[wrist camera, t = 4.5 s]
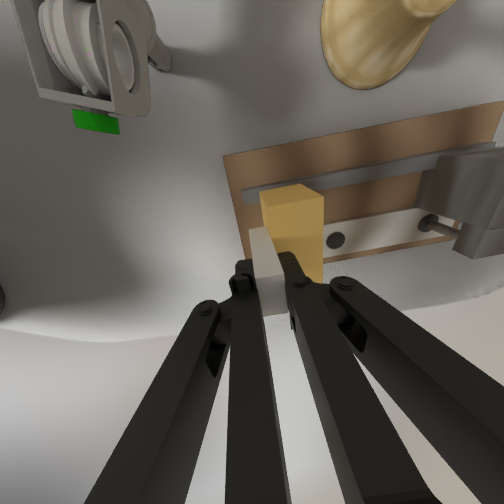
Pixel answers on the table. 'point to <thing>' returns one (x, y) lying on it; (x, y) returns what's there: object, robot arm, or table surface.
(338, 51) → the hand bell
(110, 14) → the mechanical component
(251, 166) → the board
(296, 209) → the block
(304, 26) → the table surface
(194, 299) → the table surface
